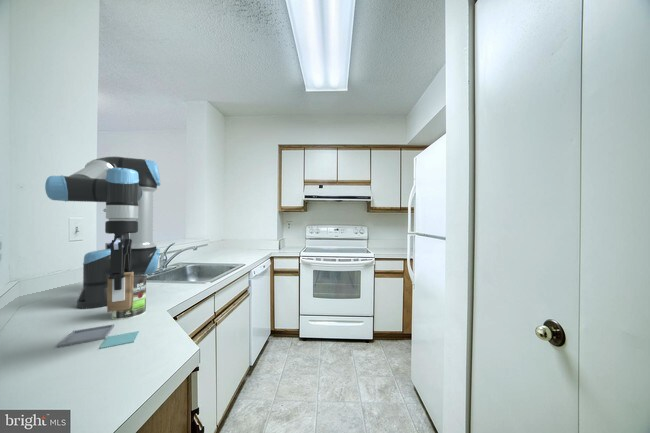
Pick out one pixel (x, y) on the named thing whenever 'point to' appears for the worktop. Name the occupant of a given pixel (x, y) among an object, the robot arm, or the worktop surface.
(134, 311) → the coffee can
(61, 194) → the robot arm
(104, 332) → the gray tray
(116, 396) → the worktop surface
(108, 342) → the teal pad
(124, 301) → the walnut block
